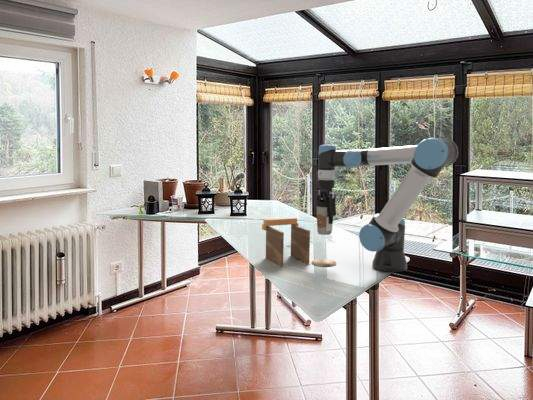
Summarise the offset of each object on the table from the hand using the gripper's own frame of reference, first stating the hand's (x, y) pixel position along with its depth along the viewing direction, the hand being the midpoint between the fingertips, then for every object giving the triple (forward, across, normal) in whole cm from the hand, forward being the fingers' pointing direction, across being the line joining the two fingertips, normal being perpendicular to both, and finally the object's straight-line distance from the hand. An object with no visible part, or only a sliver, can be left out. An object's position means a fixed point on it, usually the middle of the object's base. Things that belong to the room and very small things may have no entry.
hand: (324, 229), depth 230 cm
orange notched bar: (+2, -18, -14) cm, 23 cm away
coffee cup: (+2, 0, 0) cm, 2 cm away
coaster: (+16, 0, 0) cm, 16 cm away
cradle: (+16, -10, -14) cm, 24 cm away
